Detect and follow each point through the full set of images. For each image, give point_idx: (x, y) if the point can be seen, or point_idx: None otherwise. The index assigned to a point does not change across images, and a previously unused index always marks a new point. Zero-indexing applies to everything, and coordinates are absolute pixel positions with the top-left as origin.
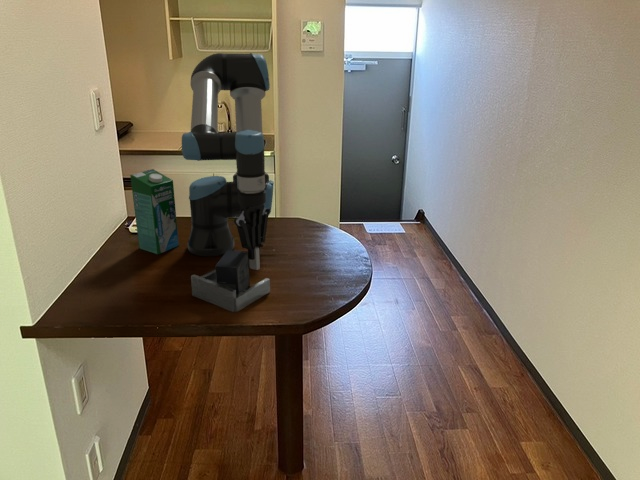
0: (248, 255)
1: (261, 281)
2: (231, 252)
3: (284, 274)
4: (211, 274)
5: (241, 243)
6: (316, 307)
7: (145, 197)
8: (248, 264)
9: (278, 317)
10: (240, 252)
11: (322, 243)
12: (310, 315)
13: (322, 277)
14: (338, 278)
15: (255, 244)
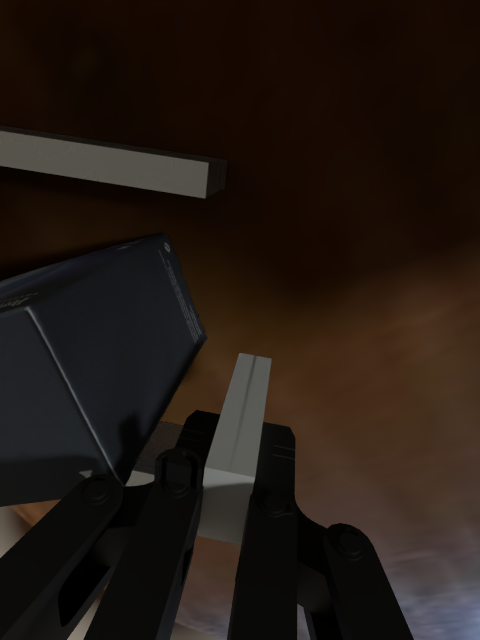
0: (181, 434)
1: (132, 474)
2: (7, 381)
3: (394, 435)
4: (20, 167)
5: (41, 522)
6: (187, 594)
7: None
8: (164, 411)
9: None
10: (61, 452)
11: None
12: None
13: (425, 570)
14: (438, 615)
15: (184, 581)
